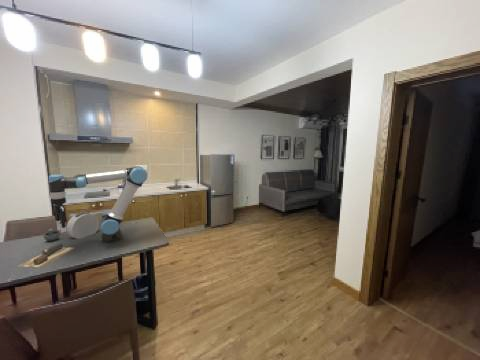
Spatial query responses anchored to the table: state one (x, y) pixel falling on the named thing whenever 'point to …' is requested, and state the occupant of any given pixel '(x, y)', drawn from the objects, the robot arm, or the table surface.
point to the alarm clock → (82, 225)
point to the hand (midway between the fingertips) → (61, 230)
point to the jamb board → (45, 258)
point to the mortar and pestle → (51, 235)
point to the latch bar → (52, 249)
